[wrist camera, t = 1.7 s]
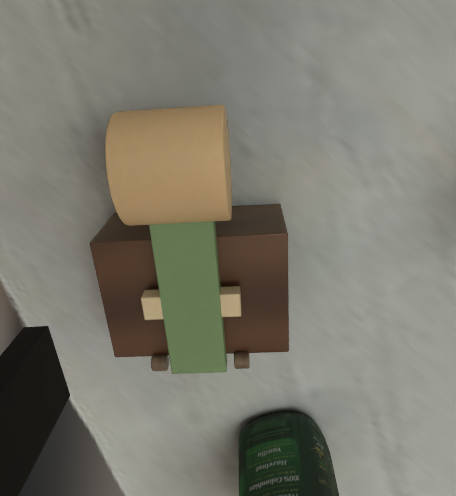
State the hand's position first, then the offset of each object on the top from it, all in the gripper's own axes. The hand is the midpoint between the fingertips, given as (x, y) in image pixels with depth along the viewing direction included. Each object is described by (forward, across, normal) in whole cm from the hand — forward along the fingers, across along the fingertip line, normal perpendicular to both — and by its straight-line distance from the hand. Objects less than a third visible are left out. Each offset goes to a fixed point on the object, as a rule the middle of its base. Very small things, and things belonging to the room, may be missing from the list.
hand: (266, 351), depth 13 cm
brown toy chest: (+18, -4, -6) cm, 20 cm away
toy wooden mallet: (+15, -4, -2) cm, 16 cm away
